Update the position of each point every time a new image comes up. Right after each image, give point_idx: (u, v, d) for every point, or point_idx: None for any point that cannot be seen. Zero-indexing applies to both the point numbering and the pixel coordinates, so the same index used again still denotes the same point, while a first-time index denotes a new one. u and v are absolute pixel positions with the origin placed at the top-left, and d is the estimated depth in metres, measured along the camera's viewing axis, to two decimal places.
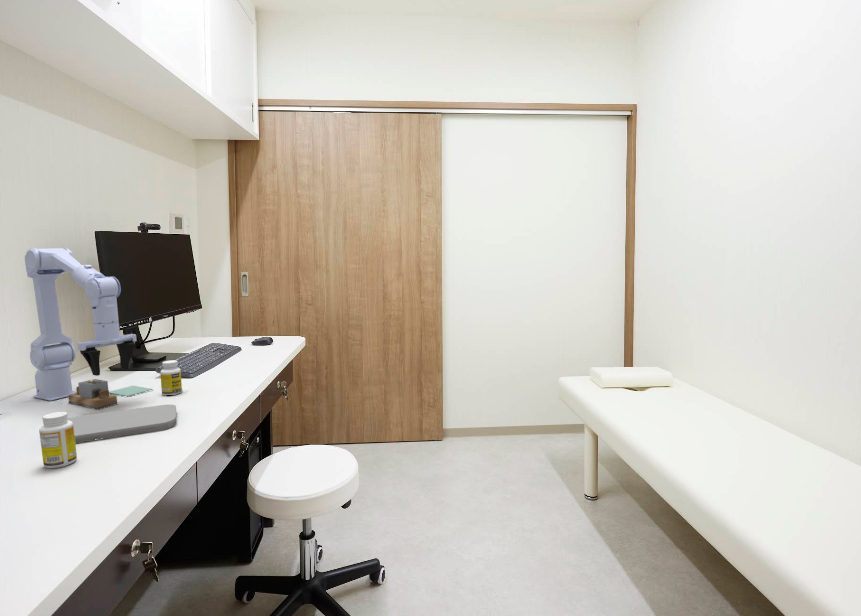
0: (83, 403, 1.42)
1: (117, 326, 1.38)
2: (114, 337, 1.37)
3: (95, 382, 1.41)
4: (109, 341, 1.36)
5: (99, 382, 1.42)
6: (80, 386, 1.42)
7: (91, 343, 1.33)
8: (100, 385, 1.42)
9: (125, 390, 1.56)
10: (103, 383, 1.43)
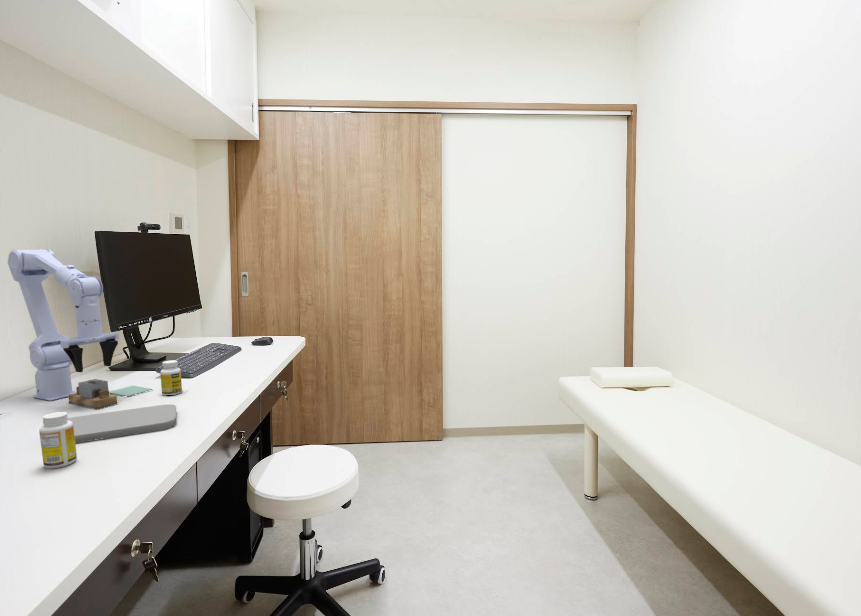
0: (83, 403, 1.42)
1: (99, 324, 1.42)
2: (96, 335, 1.41)
3: (95, 382, 1.41)
4: (92, 339, 1.40)
5: (99, 382, 1.42)
6: (80, 386, 1.42)
7: (74, 341, 1.37)
8: (100, 385, 1.42)
9: (125, 390, 1.56)
10: (103, 383, 1.43)
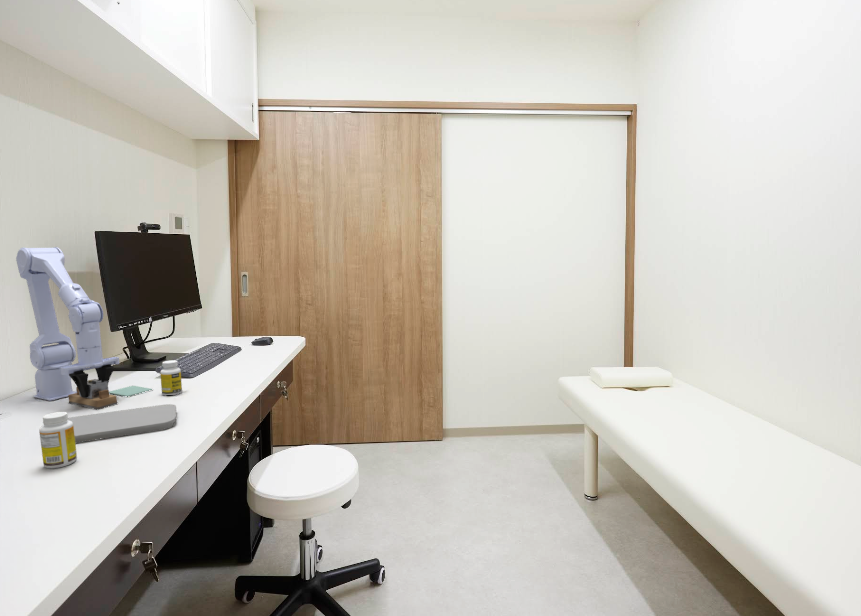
0: (83, 403, 1.42)
1: (100, 350, 1.42)
2: (97, 361, 1.41)
3: (95, 382, 1.41)
4: (92, 365, 1.40)
5: (99, 382, 1.42)
6: None
7: (74, 367, 1.37)
8: (100, 385, 1.42)
9: (125, 390, 1.56)
10: (103, 383, 1.43)
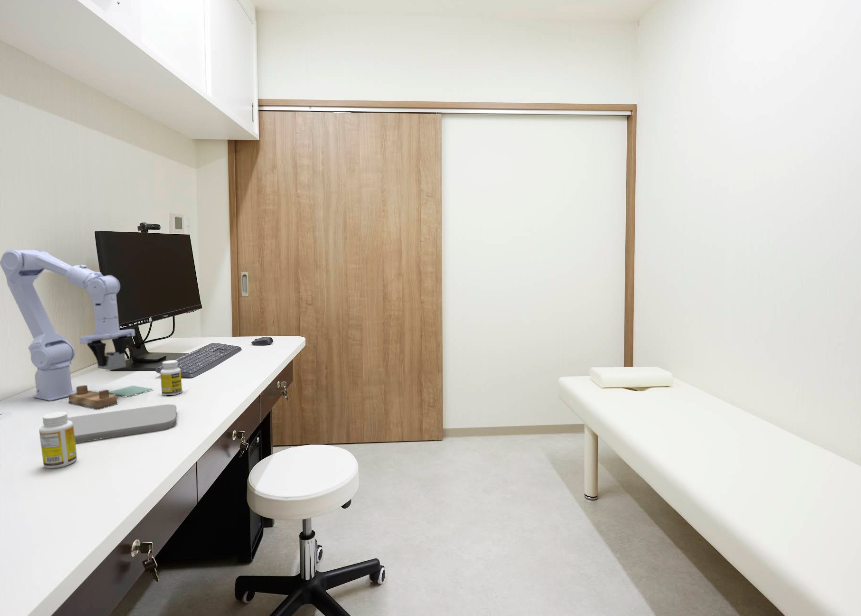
0: (83, 403, 1.42)
1: (117, 321, 1.48)
2: (114, 332, 1.47)
3: (113, 354, 1.47)
4: (109, 335, 1.46)
5: (117, 354, 1.48)
6: None
7: (92, 337, 1.43)
8: (118, 357, 1.48)
9: (125, 390, 1.56)
10: (120, 355, 1.48)
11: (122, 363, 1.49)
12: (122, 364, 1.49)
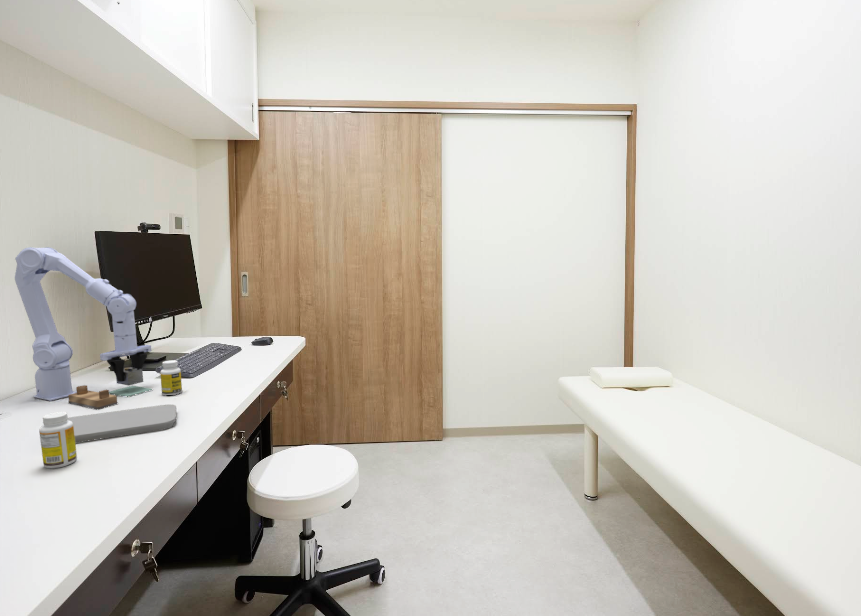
0: (83, 403, 1.42)
1: (135, 338, 1.54)
2: (132, 348, 1.53)
3: (131, 370, 1.53)
4: (128, 352, 1.52)
5: (135, 370, 1.54)
6: None
7: (112, 354, 1.49)
8: (136, 373, 1.54)
9: (125, 390, 1.56)
10: (138, 371, 1.55)
11: (140, 378, 1.55)
12: (140, 379, 1.55)
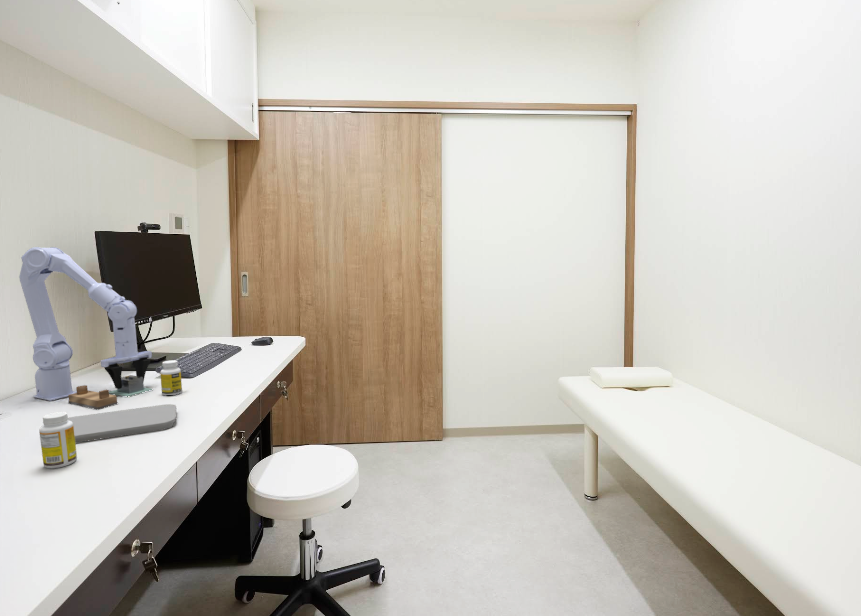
0: (83, 403, 1.42)
1: (135, 345, 1.54)
2: (133, 354, 1.53)
3: (132, 378, 1.53)
4: (128, 358, 1.52)
5: (135, 378, 1.54)
6: None
7: (113, 360, 1.50)
8: (136, 381, 1.54)
9: None
10: (139, 379, 1.55)
11: (140, 386, 1.55)
12: (140, 387, 1.55)
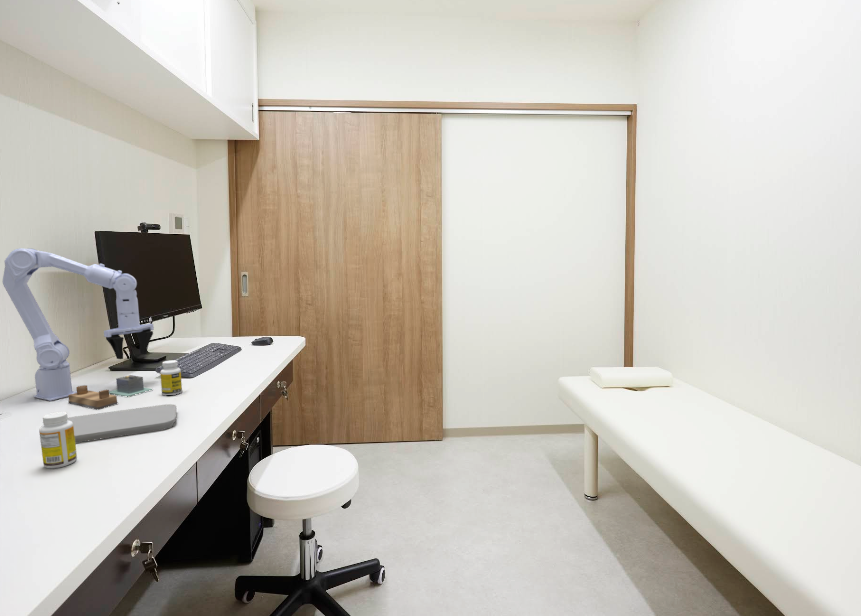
0: (83, 403, 1.42)
1: (137, 316, 1.59)
2: (135, 326, 1.58)
3: (132, 378, 1.53)
4: (131, 329, 1.57)
5: (135, 378, 1.54)
6: (118, 381, 1.54)
7: (116, 331, 1.54)
8: (136, 381, 1.54)
9: None
10: (139, 379, 1.55)
11: (140, 386, 1.55)
12: (140, 387, 1.55)
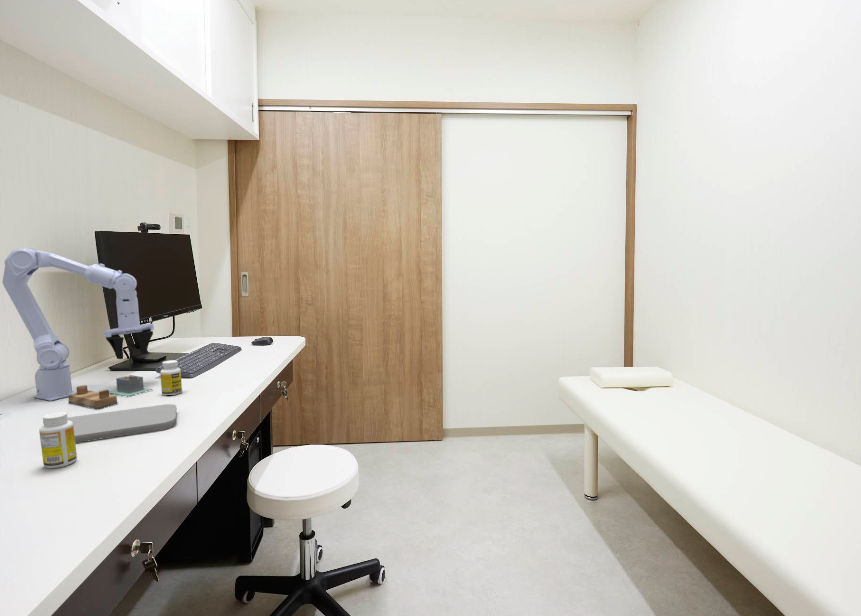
0: (83, 403, 1.42)
1: (137, 316, 1.59)
2: (135, 326, 1.58)
3: (132, 378, 1.53)
4: (131, 329, 1.57)
5: (135, 378, 1.54)
6: (118, 381, 1.54)
7: (116, 331, 1.54)
8: (136, 381, 1.54)
9: None
10: (139, 379, 1.55)
11: (140, 386, 1.55)
12: (140, 387, 1.55)
